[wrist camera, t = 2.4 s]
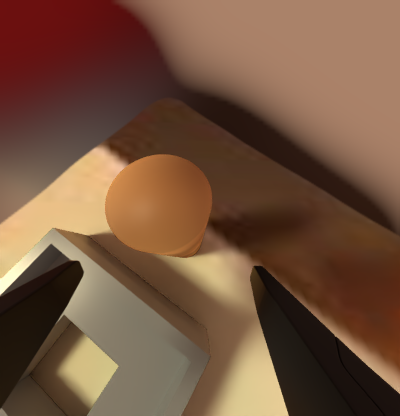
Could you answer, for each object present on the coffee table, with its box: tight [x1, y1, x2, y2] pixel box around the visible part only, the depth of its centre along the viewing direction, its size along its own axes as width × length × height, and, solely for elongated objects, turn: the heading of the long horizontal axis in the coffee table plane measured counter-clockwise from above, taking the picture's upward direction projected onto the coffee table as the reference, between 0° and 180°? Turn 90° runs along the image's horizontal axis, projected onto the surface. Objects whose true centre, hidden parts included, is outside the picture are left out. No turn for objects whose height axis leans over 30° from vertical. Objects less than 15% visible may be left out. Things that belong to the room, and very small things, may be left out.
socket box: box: [0, 228, 211, 416], centre depth 12 cm, size 17×17×4 cm
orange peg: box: [105, 155, 212, 258], centre depth 12 cm, size 4×4×13 cm
